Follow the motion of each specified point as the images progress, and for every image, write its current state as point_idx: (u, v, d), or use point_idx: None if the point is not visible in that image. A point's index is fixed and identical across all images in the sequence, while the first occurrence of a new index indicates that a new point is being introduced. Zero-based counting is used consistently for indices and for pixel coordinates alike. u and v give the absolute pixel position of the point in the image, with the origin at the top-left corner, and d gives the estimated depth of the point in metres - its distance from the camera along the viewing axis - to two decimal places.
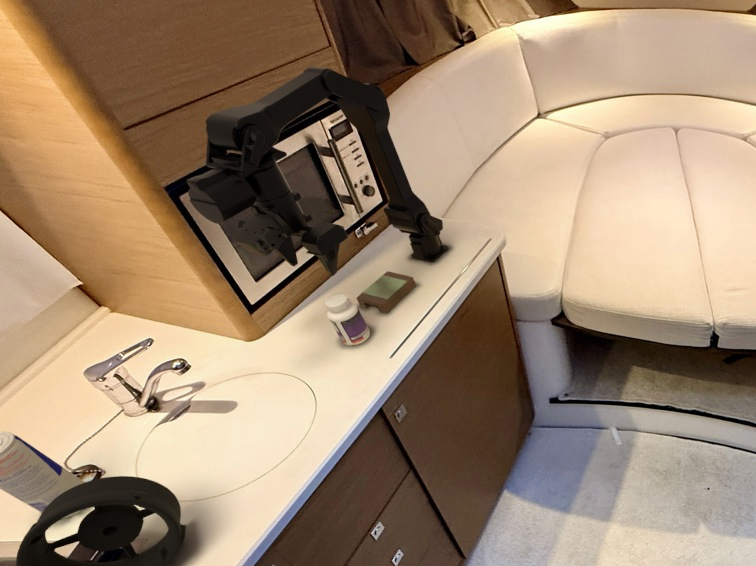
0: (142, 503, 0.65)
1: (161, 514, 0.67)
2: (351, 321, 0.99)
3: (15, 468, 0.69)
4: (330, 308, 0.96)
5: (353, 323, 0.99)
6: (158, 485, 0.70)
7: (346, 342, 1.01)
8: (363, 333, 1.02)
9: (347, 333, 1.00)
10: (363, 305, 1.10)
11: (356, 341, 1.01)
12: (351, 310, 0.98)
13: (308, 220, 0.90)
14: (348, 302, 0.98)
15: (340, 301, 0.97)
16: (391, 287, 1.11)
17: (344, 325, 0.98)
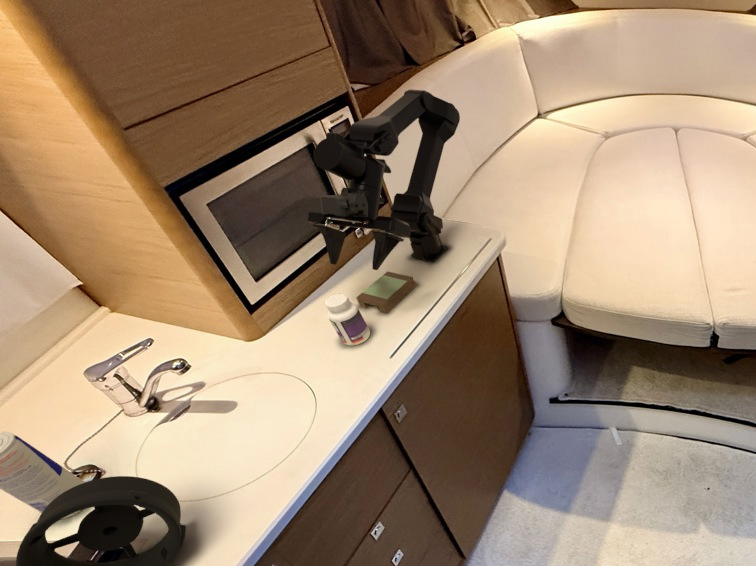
0: (142, 503, 0.65)
1: (161, 514, 0.67)
2: (351, 321, 0.99)
3: (15, 468, 0.69)
4: (330, 308, 0.96)
5: (353, 323, 0.99)
6: (158, 485, 0.70)
7: (346, 342, 1.01)
8: (363, 333, 1.02)
9: (347, 333, 1.00)
10: (363, 305, 1.10)
11: (356, 341, 1.01)
12: (351, 310, 0.98)
13: None
14: (348, 302, 0.98)
15: (340, 301, 0.97)
16: (391, 287, 1.11)
17: (344, 325, 0.98)
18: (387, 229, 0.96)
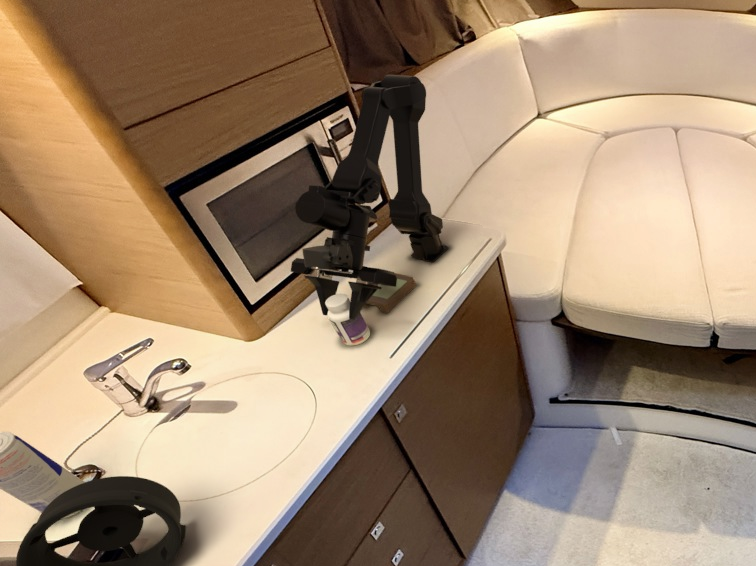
0: (142, 503, 0.65)
1: (161, 514, 0.67)
2: (351, 321, 0.99)
3: (15, 468, 0.69)
4: (330, 308, 0.96)
5: (353, 323, 0.99)
6: (158, 485, 0.70)
7: (346, 342, 1.01)
8: (363, 333, 1.02)
9: (347, 333, 1.00)
10: None
11: (356, 341, 1.01)
12: None
13: None
14: (348, 302, 0.98)
15: (340, 301, 0.97)
16: (391, 287, 1.11)
17: (344, 325, 0.98)
18: (372, 281, 0.94)
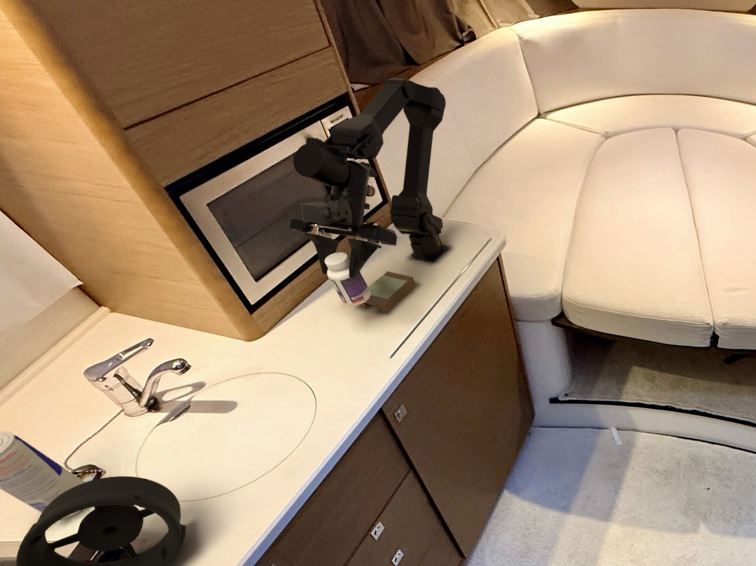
0: (142, 503, 0.65)
1: (161, 514, 0.67)
2: (351, 280, 0.97)
3: (15, 468, 0.69)
4: (330, 266, 0.95)
5: (353, 283, 0.98)
6: (158, 485, 0.70)
7: (346, 302, 1.00)
8: (363, 293, 1.01)
9: (348, 293, 0.98)
10: (363, 305, 1.10)
11: (357, 301, 1.00)
12: None
13: None
14: (348, 261, 0.96)
15: (340, 259, 0.95)
16: (391, 287, 1.11)
17: (343, 284, 0.97)
18: (371, 238, 0.92)
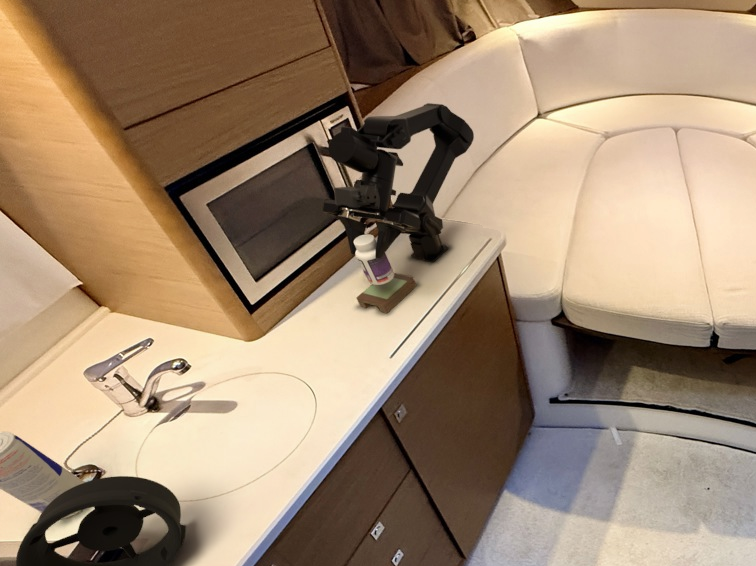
0: (142, 503, 0.65)
1: (161, 514, 0.67)
2: (377, 261, 1.05)
3: (15, 468, 0.69)
4: (358, 246, 1.02)
5: (378, 263, 1.05)
6: (158, 485, 0.70)
7: (372, 281, 1.07)
8: (388, 273, 1.08)
9: (373, 272, 1.06)
10: (363, 305, 1.10)
11: (381, 281, 1.08)
12: None
13: None
14: (375, 242, 1.04)
15: (367, 240, 1.03)
16: (391, 287, 1.11)
17: (370, 264, 1.04)
18: (397, 221, 1.00)
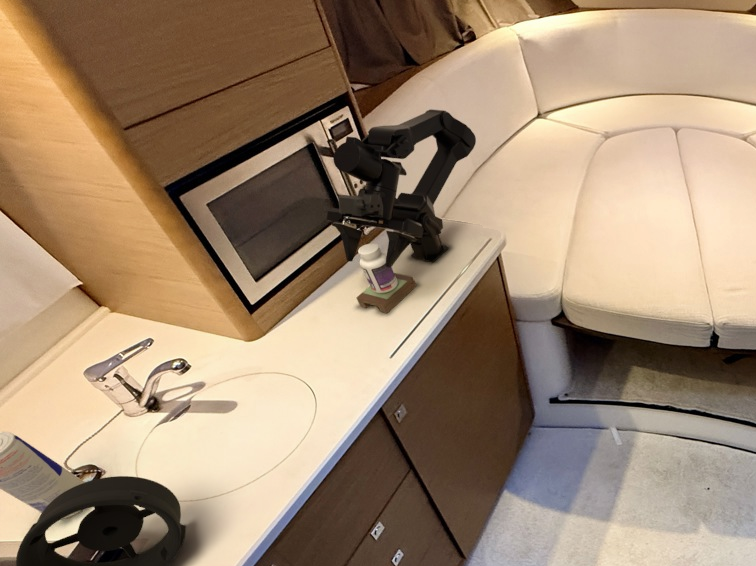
0: (142, 503, 0.65)
1: (161, 514, 0.67)
2: (381, 269, 1.06)
3: (15, 468, 0.69)
4: (362, 255, 1.04)
5: (382, 272, 1.07)
6: (158, 485, 0.70)
7: (376, 290, 1.09)
8: (391, 282, 1.09)
9: (377, 281, 1.07)
10: (363, 305, 1.10)
11: (385, 289, 1.09)
12: (381, 259, 1.06)
13: None
14: (379, 251, 1.05)
15: (372, 249, 1.04)
16: None
17: (374, 273, 1.06)
18: (400, 229, 1.01)
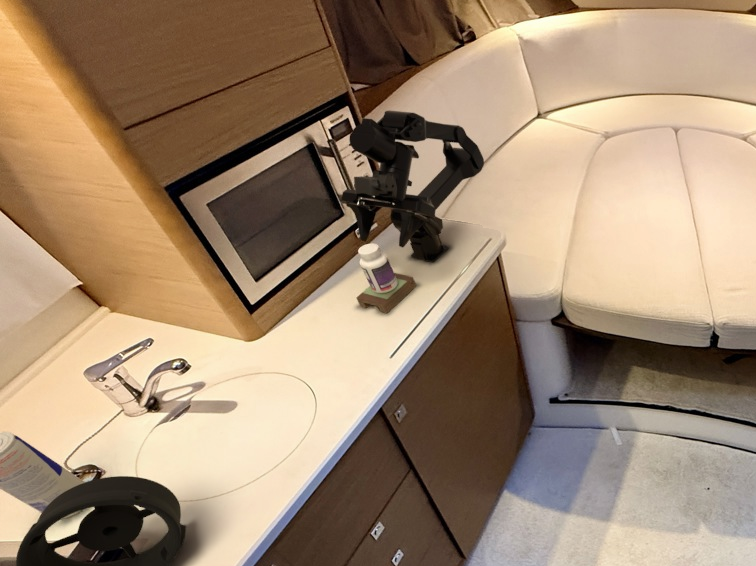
0: (142, 503, 0.65)
1: (161, 514, 0.67)
2: (381, 269, 1.06)
3: (15, 468, 0.69)
4: (362, 255, 1.04)
5: (382, 272, 1.07)
6: (158, 485, 0.70)
7: (376, 290, 1.09)
8: (391, 282, 1.09)
9: (377, 281, 1.07)
10: (363, 305, 1.10)
11: (385, 289, 1.09)
12: (381, 259, 1.06)
13: None
14: (379, 251, 1.05)
15: (372, 249, 1.04)
16: None
17: (374, 273, 1.06)
18: (413, 209, 1.04)
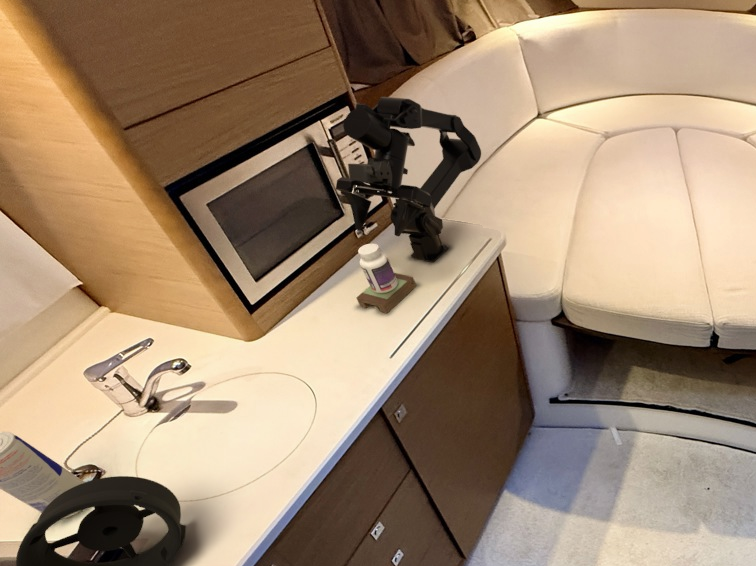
0: (142, 503, 0.65)
1: (161, 514, 0.67)
2: (381, 269, 1.06)
3: (15, 468, 0.69)
4: (362, 256, 1.04)
5: (382, 272, 1.07)
6: (158, 485, 0.70)
7: (376, 290, 1.09)
8: (391, 282, 1.09)
9: (377, 281, 1.07)
10: (363, 305, 1.10)
11: (385, 289, 1.09)
12: (381, 259, 1.06)
13: None
14: (379, 251, 1.05)
15: (372, 249, 1.04)
16: None
17: (374, 273, 1.06)
18: (409, 197, 1.02)
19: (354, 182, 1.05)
